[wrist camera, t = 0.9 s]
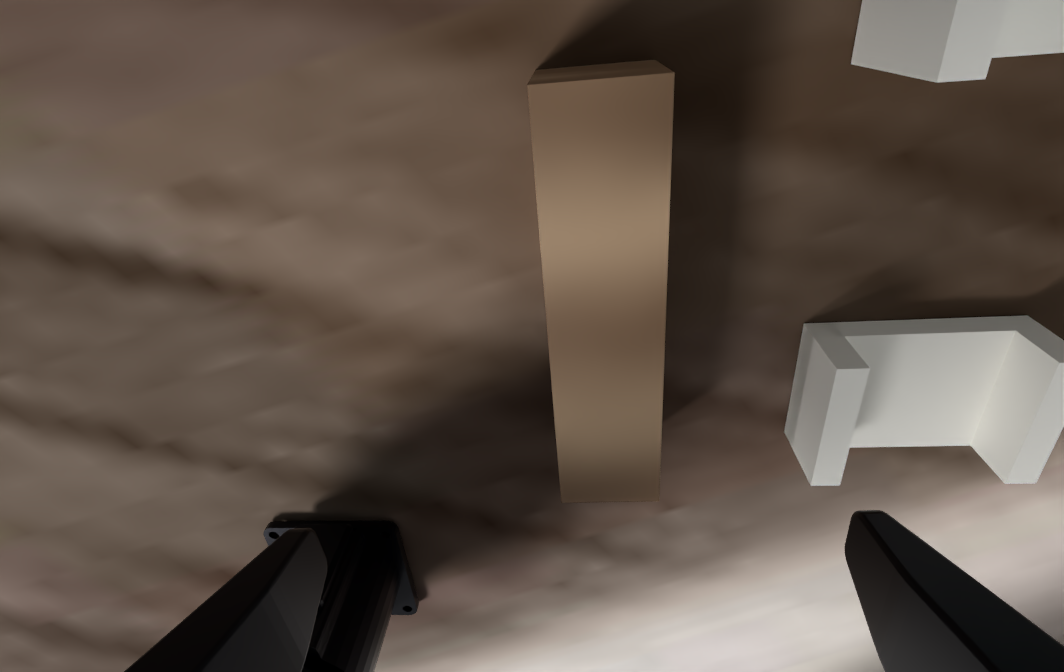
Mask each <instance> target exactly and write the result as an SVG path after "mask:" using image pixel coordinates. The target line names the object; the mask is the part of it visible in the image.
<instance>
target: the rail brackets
mask: <svg viewBox="0 0 1064 672" xmlns="http://www.w3.org/2000/svg"><path fill="white" fill-rule="evenodd" d="M1051 53H1064V0H862V5H861V10H860V16H859V21H858V27H857V32H856V38H855V43H854V49H853V55H852V60H851V64H853V65H857V66H862V67H867V68H871V69H876V70H881V71H885V72H890V73H895V74H899V75H904V76H908V77H913V78H918V79H922V80H927V81H932V82H936V83H938V82H952V81H966V80H980V79H986V76H987V72H988V69H989V65H990V62H991V58H997V57H1011V56H1024V55H1037V54H1051ZM1063 427H1064V340H1063V339H1061V338H1060V337H1058V336H1057V335H1055V334H1054V333H1052V332H1051V331H1049V330H1048V329H1047V328H1045V327H1044V326H1042V325H1041V324H1039V323H1038V322H1036V321H1035V320H1033V319H1032V318H1031V317H1029V316H1028V315H1025V316H997V317H969V318H941V319H914V320H886V321H858V322H830V323H804V325H803V331H802V336H801V342H800V347H799V353H798V358H797V364H796V369H795V375H794V380H793V386H792V391H791V397H790V402H789V408H788V414H787V419H786V425H785V430H784V432H785V435H786V437H787V439H788V441H789V443H790V445H791V447H792V449H793V451H794V453H795V455H796V457H797V459H798V461H799V463H800V465H801V467H802V469H803V471H804V473H805V475H806V477H807V479H808V481H809V483H810V485H811V486H840V483H841V479H842V475H843V472H844V468H845V464H846V460H847V456H848V452H849V448H850V447H910V446H970V445H971V447H972V448H973V449H974V450H975V451H976V452H977V453H978V454H979V455H980V457H981V458H982V459H983V460H984V461H985V462H986V463H987V464H988V465H989V467H990V468H991V469H992V470H993V471H994V472H995V473H996V474H997V475H998V477H999V478H1000V479H1001V480H1002V481H1003V482H1004V483H1005V484H1027V483H1036V482H1037V480H1038V478H1039V476H1040V474H1041V472H1042V470H1043V468H1044V466H1045V464H1046V462H1047V460H1048V458H1049V455H1050V453H1051V451H1052V449H1053V447H1054V445H1055V443H1056V441H1057V439H1058V437H1059V435H1060V433H1061V431H1062V429H1063Z"/></svg>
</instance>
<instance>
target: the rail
mask: <svg viewBox="0 0 1064 672" xmlns="http://www.w3.org/2000/svg"><path fill="white" fill-rule="evenodd" d="M674 77H675V72H673V71H671V70H670V69H668V68H667V67H665V66H664V65H662V64H661V63H659V62H658V61H656V60H644V61H632V62H621V63H609V64H598V65H586V66H574V67H563V68H551V69H540V70H535V72H534V74H533V75H532V77H531V79H530V81H529V83H528V84H527V89H528V101H529V114H530V126H531V138H532V150H533V163H534V175H535V187H536V200H537V212H538V224H539V236H540V249H541V261H542V273H543V285H544V298H545V310H546V322H547V335H548V347H549V359H550V371H551V384H552V396H553V408H554V420H555V433H556V445H557V457H558V470H559V482H560V494H561V503H582V502H645V501H659V494H660V466H661V438H662V411H663V383H664V355H665V327H666V300H667V272H668V244H669V216H670V188H671V161H672V133H673V105H674Z"/></svg>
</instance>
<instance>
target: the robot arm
mask: <svg viewBox="0 0 1064 672" xmlns="http://www.w3.org/2000/svg"><path fill="white" fill-rule="evenodd" d="M264 537H265V539H266V541H267V544H268V547H267V548H266V549H265V550H264V551H262V552H261V553H260V554H259V555H258V556H257V557H256V558H254V559H253V560H252V561H251V562H250V563H249V564H247V565H246V566H245V567H244V568H243V569H242V570H241V571H239V572H238V573H237V574H236V575H235V576H234V577H233V578H231V579H230V580H229V581H228V582H227V583H226V584H224V585H223V586H222V587H221V588H220V589H219V590H218V591H216V592H215V593H214V594H213V595H212V596H211V597H209V598H208V599H207V600H206V601H205V602H204V603H203V604H201V605H200V606H199V607H198V608H197V609H196V610H195V611H193V612H192V613H191V614H190V615H189V616H188V617H186V618H185V619H184V620H183V621H182V622H181V623H180V624H178V625H177V626H176V627H175V628H174V629H173V630H171V631H170V632H169V633H168V634H167V635H166V636H165V637H163V638H162V639H161V640H160V641H159V642H158V643H157V644H155V645H154V646H153V647H152V648H151V649H150V650H148V651H147V652H146V653H145V654H144V655H143V656H142V657H140V658H139V659H138V660H137V661H136V662H135V663H133V664H132V665H131V666H130V667H129V668H128V669H127V670H125V671H124V672H374V670H375V667H376V663H377V660H378V657H379V653H380V650H381V647H382V643H383V640H384V637H385V633H386V630H387V627H388V623H389V620H390V617H391V615H412V614H415V613H416V612H417V608H418V605H419V601H418V598H417V594H416V590H415V587H414V583H413V580H412V576H411V572H410V569H409V565H408V562H407V558H406V554H405V551H404V547H403V543H402V540H401V536H400V533H399V529H398V527H397V525H396V524H394V523H392V522H390V521H286V522H270V523H269V524H268V525H267V527H266V529H265V530H264ZM845 557H846V561H847V564H848V567H849V570H850V573H851V576H852V579H853V582H854V585H855V588H856V591H857V594H858V597H859V600H860V603H861V606H862V609H863V612H864V615H865V618H866V621H867V624H868V627H869V630H870V633H871V636H872V639H873V642H874V645H875V648H876V650H877V653H878V656H879V658H880V661H881V663H882V666H883V668H884V670H885V672H1064V646H1063V645H1062V644H1060V643H1059V642H1058V641H1056V640H1055V639H1054V638H1052V637H1051V636H1050V635H1048V634H1047V633H1046V632H1044V631H1043V630H1042V629H1040V628H1039V627H1038V626H1036V625H1035V624H1034V623H1032V622H1031V621H1030V620H1028V619H1027V618H1026V617H1024V616H1023V615H1022V614H1020V613H1019V612H1018V611H1016V610H1015V609H1014V608H1012V607H1011V606H1010V605H1008V604H1007V603H1006V602H1004V601H1003V600H1002V599H1000V598H999V597H998V596H996V595H995V594H994V593H992V592H991V591H990V590H988V589H987V588H986V587H984V586H983V585H982V584H980V583H979V582H978V581H976V580H975V579H974V578H972V577H971V576H970V575H968V574H967V573H966V572H964V571H963V570H962V569H960V568H959V567H958V566H956V565H955V564H954V563H952V562H951V561H950V560H948V559H947V558H946V557H944V556H943V555H942V554H940V553H939V552H938V551H936V550H935V549H934V548H932V547H931V546H930V545H928V544H927V543H926V542H924V541H923V540H922V539H920V538H919V537H918V536H916V535H915V534H914V533H912V532H911V531H910V530H908V529H907V528H906V527H904V526H903V525H902V524H900V523H899V522H898V521H896V520H895V519H894V518H892V517H891V516H890V515H888V514H887V513H885V512H883V511H880V510H867V511H856V512H854V514H853V515H852V517H851V521H850V525H849V530H848V534H847V538H846V543H845Z"/></svg>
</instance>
